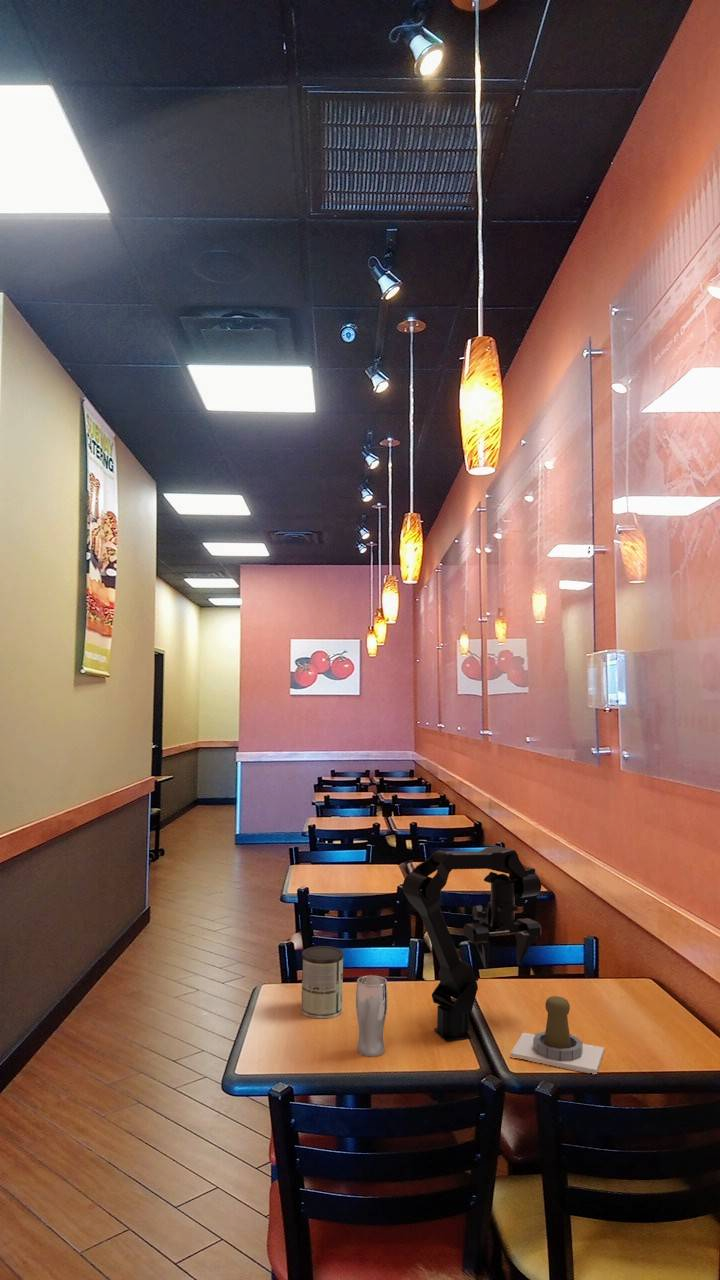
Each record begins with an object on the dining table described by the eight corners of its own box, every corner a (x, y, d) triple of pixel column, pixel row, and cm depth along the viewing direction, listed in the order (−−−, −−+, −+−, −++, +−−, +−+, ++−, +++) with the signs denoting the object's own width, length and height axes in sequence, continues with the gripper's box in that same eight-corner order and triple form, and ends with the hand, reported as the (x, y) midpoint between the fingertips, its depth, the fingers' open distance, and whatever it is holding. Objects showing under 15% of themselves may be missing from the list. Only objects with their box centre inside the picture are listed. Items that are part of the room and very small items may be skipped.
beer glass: (355, 1043, 180) (356, 974, 182) (386, 1044, 180) (387, 975, 181) (354, 1057, 174) (355, 985, 175) (386, 1058, 173) (387, 986, 174)
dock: (510, 1057, 175) (510, 1043, 175) (522, 1037, 186) (522, 1023, 186) (596, 1074, 167) (596, 1059, 168) (604, 1052, 178) (604, 1038, 179)
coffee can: (296, 1005, 202) (297, 947, 203) (335, 1001, 206) (336, 944, 207) (306, 1021, 193) (308, 960, 194) (347, 1016, 196) (349, 956, 197)
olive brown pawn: (555, 1058, 173) (555, 1005, 173) (537, 1046, 178) (537, 995, 179) (577, 1053, 175) (577, 1000, 176) (559, 1042, 181) (559, 991, 182)
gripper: (517, 890, 207) (517, 952, 206) (452, 895, 201) (452, 959, 200) (542, 900, 197) (542, 966, 196) (475, 906, 190) (474, 974, 189)
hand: (502, 966), depth 195 cm, fingers open, 9 cm apart
